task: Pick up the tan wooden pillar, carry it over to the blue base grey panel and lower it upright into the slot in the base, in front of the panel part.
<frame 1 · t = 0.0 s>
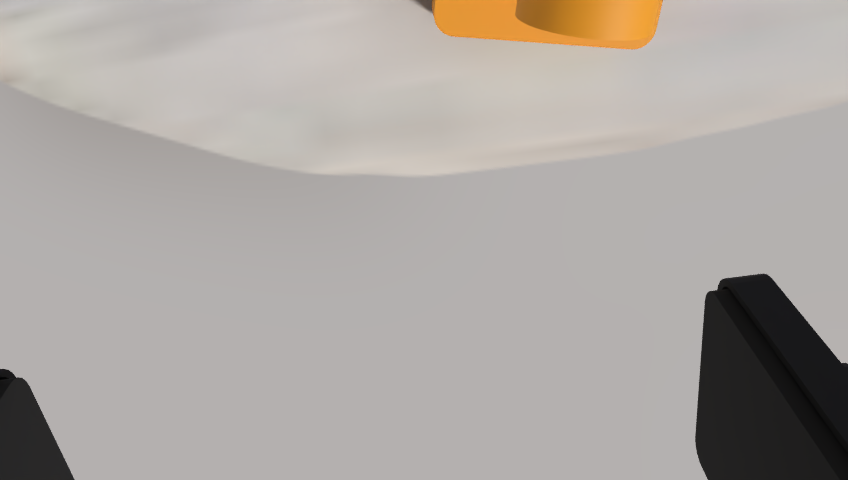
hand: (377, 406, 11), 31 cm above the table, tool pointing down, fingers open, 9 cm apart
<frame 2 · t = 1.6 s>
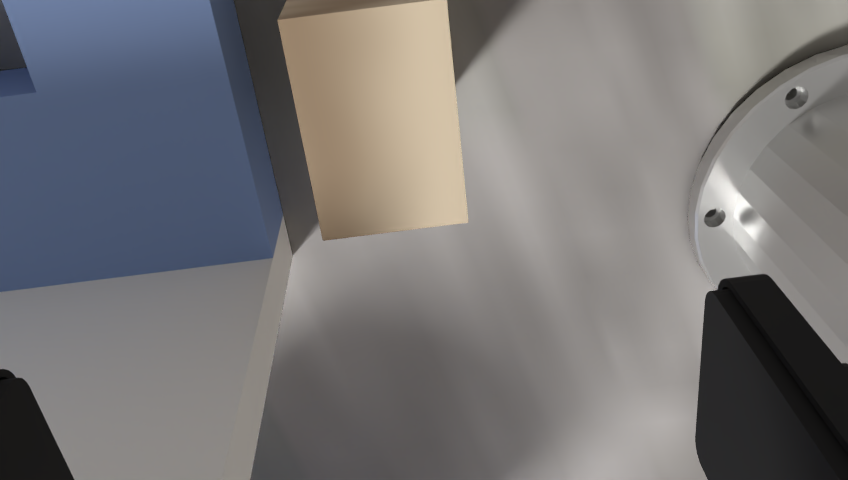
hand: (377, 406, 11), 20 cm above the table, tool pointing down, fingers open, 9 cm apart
tan wooden pillar: (379, 28, 28), on the table
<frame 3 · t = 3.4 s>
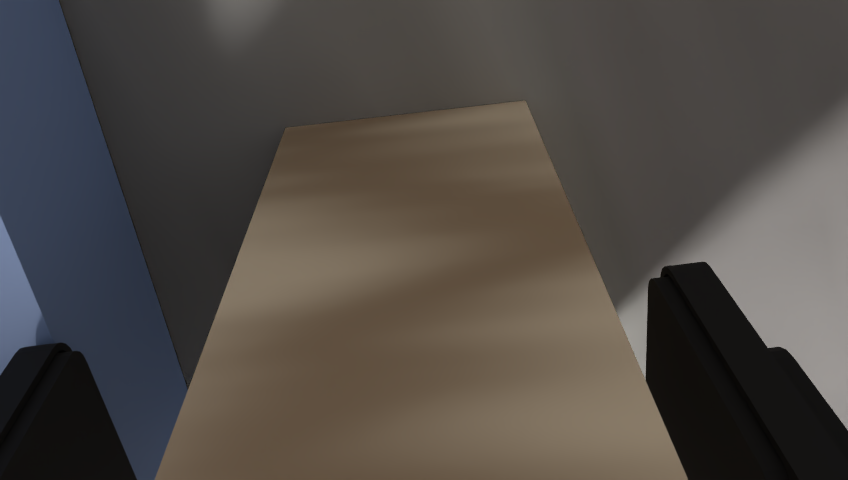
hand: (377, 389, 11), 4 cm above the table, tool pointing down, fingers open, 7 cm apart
tan wooden pillar: (424, 268, 14), on the table
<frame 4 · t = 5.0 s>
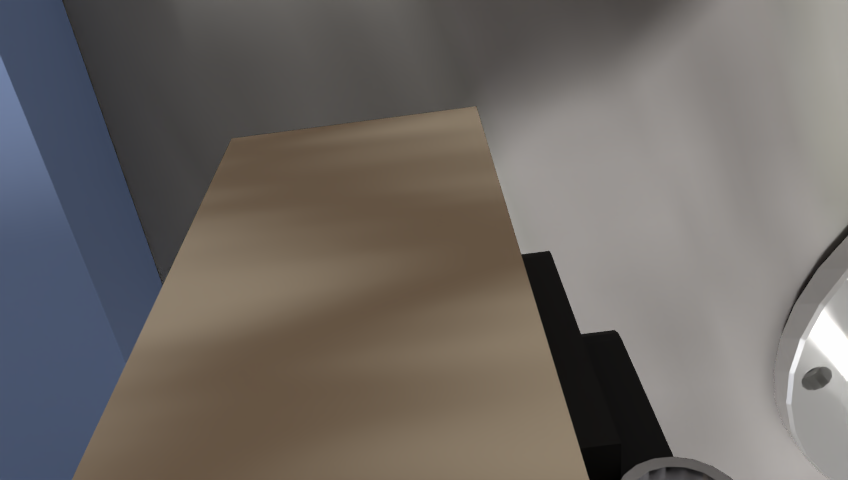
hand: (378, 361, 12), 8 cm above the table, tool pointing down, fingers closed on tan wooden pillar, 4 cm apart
tan wooden pillar: (381, 278, 14), point 6 cm above the table, touching gripper
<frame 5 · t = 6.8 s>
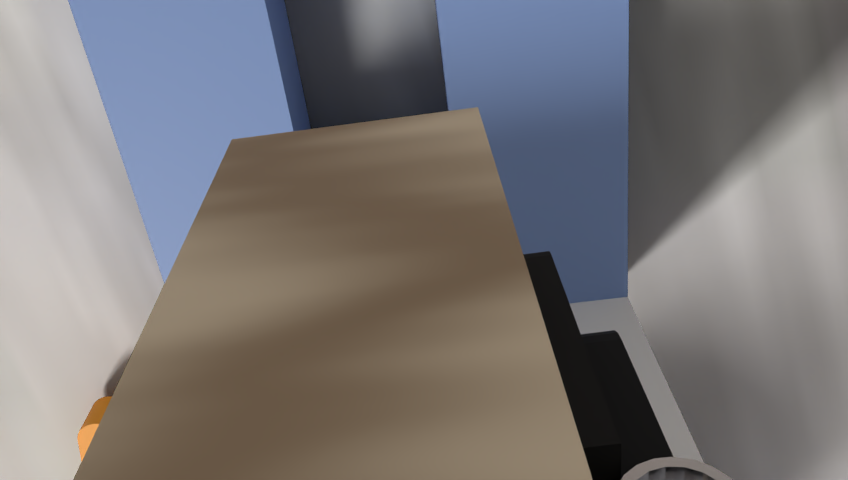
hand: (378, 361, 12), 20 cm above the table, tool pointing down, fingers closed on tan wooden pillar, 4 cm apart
blue base grey panel: (376, 105, 30), on the table
tan wooden pillar: (381, 279, 14), point 17 cm above the table, touching gripper
bracket: (181, 466, 40), on the table
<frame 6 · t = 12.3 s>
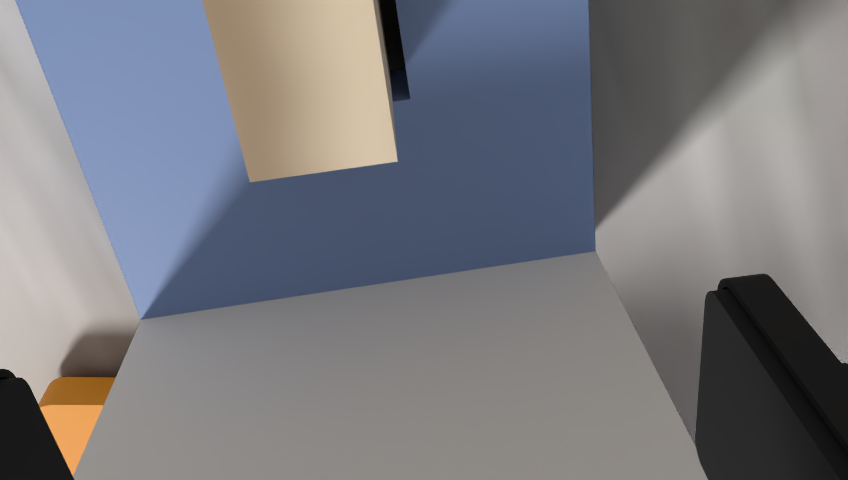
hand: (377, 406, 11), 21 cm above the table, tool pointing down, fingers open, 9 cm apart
blue base grey panel: (331, 60, 29), on the table
bracket: (144, 448, 39), on the table
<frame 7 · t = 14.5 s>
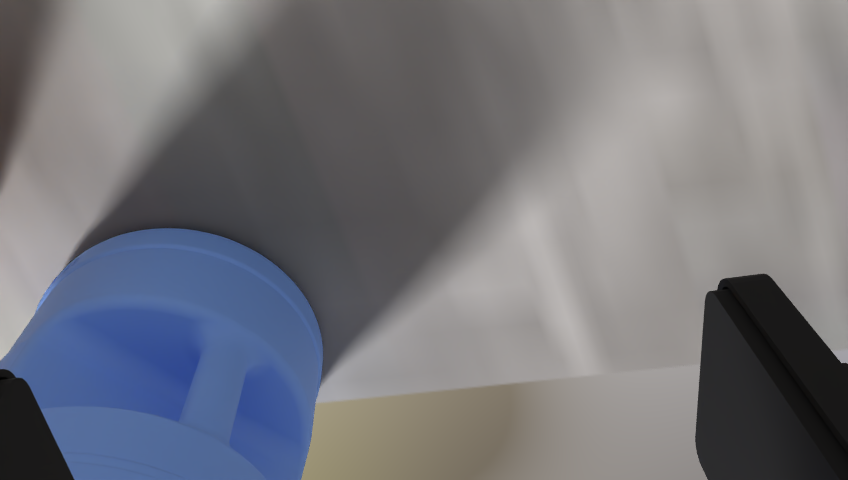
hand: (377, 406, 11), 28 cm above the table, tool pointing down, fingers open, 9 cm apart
water jug: (189, 337, 45), on the table
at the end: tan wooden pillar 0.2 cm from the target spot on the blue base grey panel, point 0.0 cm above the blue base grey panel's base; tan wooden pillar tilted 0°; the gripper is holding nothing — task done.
